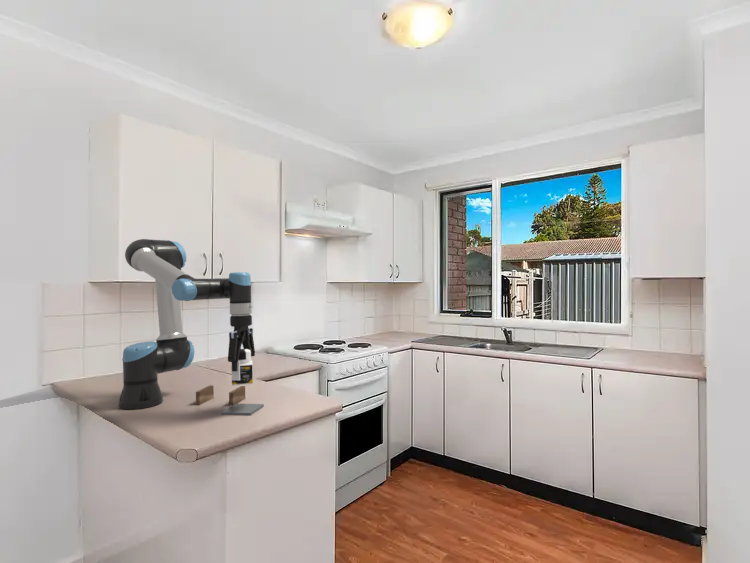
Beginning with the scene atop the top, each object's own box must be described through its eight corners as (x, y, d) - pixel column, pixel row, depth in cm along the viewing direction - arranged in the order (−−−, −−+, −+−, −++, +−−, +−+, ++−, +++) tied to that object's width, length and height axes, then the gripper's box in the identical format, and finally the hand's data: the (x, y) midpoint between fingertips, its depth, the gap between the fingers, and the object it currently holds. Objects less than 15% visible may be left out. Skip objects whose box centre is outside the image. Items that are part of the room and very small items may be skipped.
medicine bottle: (231, 385, 154) (231, 351, 154) (233, 381, 161) (232, 348, 161) (252, 384, 156) (252, 350, 156) (253, 379, 163) (252, 347, 163)
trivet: (221, 414, 154) (221, 412, 154) (236, 405, 165) (236, 403, 165) (250, 415, 152) (250, 413, 152) (263, 406, 163) (263, 404, 163)
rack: (196, 404, 167) (195, 391, 167) (210, 397, 177) (209, 385, 177) (233, 405, 164) (232, 392, 164) (245, 398, 174) (245, 386, 174)
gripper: (236, 317, 147) (238, 384, 147) (263, 312, 169) (264, 371, 169) (215, 317, 148) (217, 384, 148) (244, 312, 170) (246, 370, 170)
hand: (242, 377), depth 158 cm, fingers closed on medicine bottle, 9 cm apart
